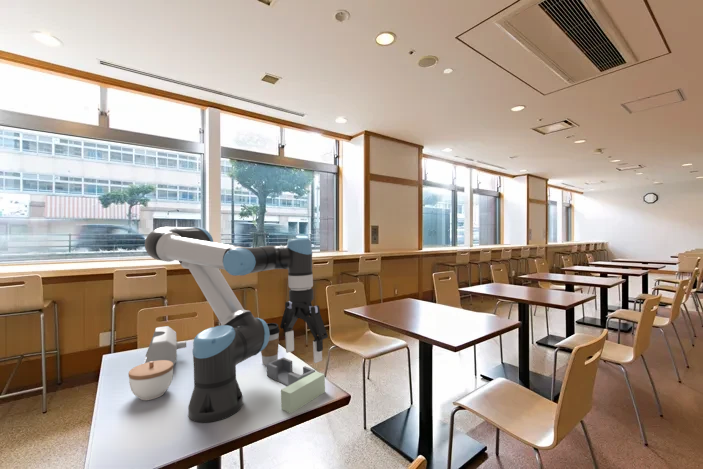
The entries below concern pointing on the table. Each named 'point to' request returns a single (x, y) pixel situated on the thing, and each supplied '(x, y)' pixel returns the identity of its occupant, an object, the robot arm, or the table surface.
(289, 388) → the block
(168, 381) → the lidded bowl
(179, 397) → the table surface
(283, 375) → the grey holder tray
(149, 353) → the tank
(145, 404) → the table surface
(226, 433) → the table surface
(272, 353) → the coffee cup
